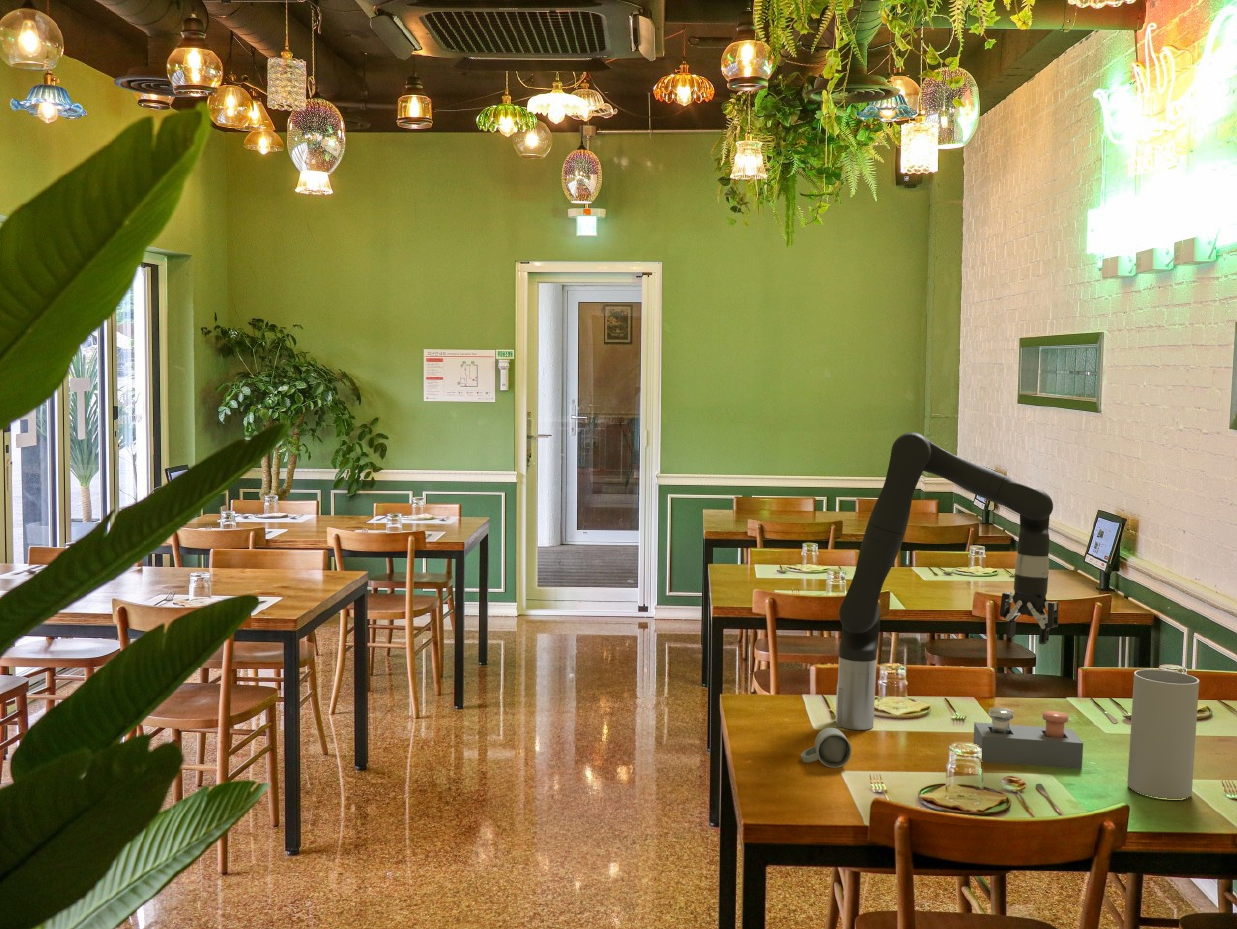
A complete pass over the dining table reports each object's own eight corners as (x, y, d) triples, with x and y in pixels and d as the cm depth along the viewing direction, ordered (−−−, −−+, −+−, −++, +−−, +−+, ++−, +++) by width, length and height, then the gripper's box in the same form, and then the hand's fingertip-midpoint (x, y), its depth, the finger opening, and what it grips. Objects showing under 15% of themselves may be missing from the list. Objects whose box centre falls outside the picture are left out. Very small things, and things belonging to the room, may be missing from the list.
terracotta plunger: (1044, 743, 262) (1045, 717, 262) (1038, 736, 268) (1040, 710, 267) (1069, 745, 261) (1071, 718, 261) (1063, 738, 267) (1065, 711, 266)
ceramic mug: (845, 757, 262) (846, 724, 262) (851, 769, 254) (852, 735, 254) (798, 756, 263) (799, 723, 262) (803, 768, 255) (804, 734, 254)
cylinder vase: (1114, 785, 249) (1121, 671, 247) (1156, 778, 254) (1163, 667, 252) (1161, 805, 237) (1169, 686, 235) (1205, 798, 242) (1212, 681, 240)
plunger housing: (981, 762, 262) (982, 736, 261) (973, 747, 272) (974, 722, 272) (1081, 769, 259) (1083, 743, 258) (1069, 754, 269) (1071, 728, 269)
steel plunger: (989, 739, 264) (991, 713, 263) (985, 732, 269) (987, 706, 269) (1015, 741, 263) (1016, 715, 262) (1010, 734, 268) (1011, 708, 268)
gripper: (996, 569, 276) (991, 635, 278) (1049, 579, 265) (1044, 648, 266) (1014, 567, 281) (1010, 632, 282) (1067, 577, 270) (1062, 645, 271)
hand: (1026, 640), depth 274 cm, fingers open, 8 cm apart
